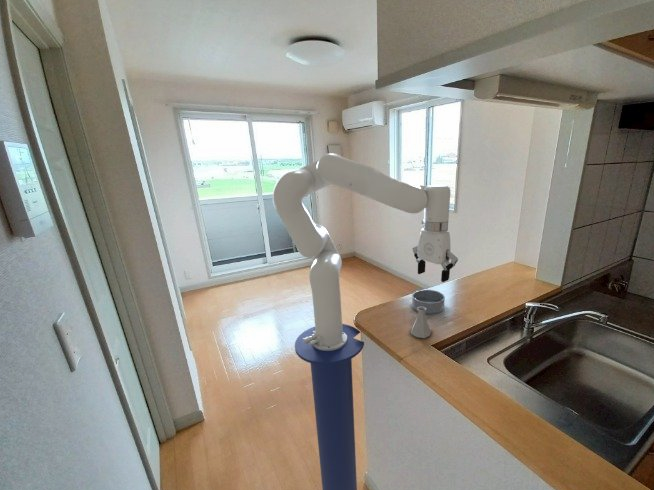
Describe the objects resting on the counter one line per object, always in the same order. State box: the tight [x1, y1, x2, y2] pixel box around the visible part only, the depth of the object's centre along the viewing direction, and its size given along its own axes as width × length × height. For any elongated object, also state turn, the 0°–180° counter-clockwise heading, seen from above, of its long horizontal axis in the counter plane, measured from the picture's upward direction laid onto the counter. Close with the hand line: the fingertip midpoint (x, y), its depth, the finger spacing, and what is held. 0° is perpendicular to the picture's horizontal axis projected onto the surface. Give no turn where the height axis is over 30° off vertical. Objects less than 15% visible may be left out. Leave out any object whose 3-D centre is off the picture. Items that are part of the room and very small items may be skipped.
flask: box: [410, 307, 432, 339], centre depth 111 cm, size 7×7×10 cm
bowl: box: [411, 289, 446, 315], centre depth 132 cm, size 13×13×5 cm
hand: (432, 276), depth 103 cm, fingers open, 9 cm apart
